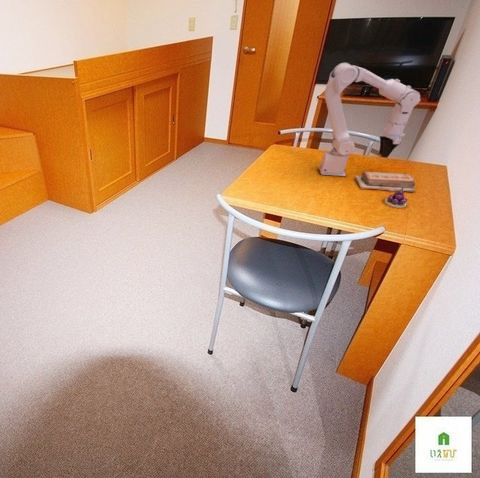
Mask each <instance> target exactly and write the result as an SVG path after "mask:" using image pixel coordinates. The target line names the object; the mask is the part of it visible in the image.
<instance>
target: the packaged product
mask: <svg viewBox="0 0 480 478" xmlns="http://www.w3.org/2000/svg"><path fill="white" fill-rule="evenodd" d="M355 180H356V182H357V184H358V185H359V187H360V189H361V190H362V189H363V190H365V189H366V190H369V189H370V190H381V191H389V192H397V191H399V190H401V189H402V187H404V188H403V191H404V192H408V193H414V192H416V191H417V190H416V189H415V186H416V179H415V178H414V177H413V175H412V174H410V173H399V172H397V173H396V172H383V171H381V172H380V171H363V172H362V174H361V175H358V174H357V175H355Z"/></svg>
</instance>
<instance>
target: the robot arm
mask: <svg viewBox="0 0 480 478" xmlns="http://www.w3.org/2000/svg"><path fill="white" fill-rule="evenodd" d="M328 77H329V78H328V81H327V83H326V86H325V89H324V93H323V95H324V99H325V104H326V108H327V112H328V115H329V122H330V125H331V129H332V141H331V146H332V148H331V150H330V151H325V152H324V153H323V154H322V157H321V160H320V164H319V167H318V169H319V173H320V175H322V176H335V177H346V176H347V174H346V172H345V169H346V167H347V164H348V161H349V158H350V156H351V154H352V153H353V152H354V150H355V149H356V144H355V143H354V142H353V141H352V140H351V136H350V134H349V131H348V126H347V121H346V118H345V113H344V108H343V103H342V99H341V94H342V92H343V91H344V90H345V88H347V87H348V86H350V85H351V84H352V83H353V82H355V83H359V82H364V83H366V84H369V85H371V86H372V87H374V88H377V89H378V93H379V95H381V96H383V97H384V98H386V99H389V100H391V101H392V102H395V104H394V107H393V109H392V112H391V114H390V116H389V120H388V121H387V124H386V127H384V128H383V131H382V135H381V136H379V140H380V141H379V142H380V143H379V144H380V145H379V150H378V151H379V152H378V154H379V155H380V157H381V158H388V157H389V156H390V155H391V154H392V152H393V151H394V150H395V149H396V148H397V147H399V145H401V143H402V137H405V136H406V134H405V133H404V130H405V127H406V125H407V123H408V121H409V119H410V116H411V114H412V112H413V109H414V108H415V107H416V106H417V105H418V104H419V103H420V102H421V100H422V99H421V94H420V92H419V91H417V90H415V89H413V88H412V86H411V85H405V84H403V83H401V80H400V79H398V78H395V79H394V78H391V79H384V78H382V77H380V76H378V75H376V74H375V73H373V72H371V71H370V70H368V69H366V68H363V67H360V66H358V65H355V64H354V65H353V64H350V63H349V62H341V63H338V64H337V65H336V66H335V67H334V68H333V70H332V71H331V72H330V74H329V76H328Z"/></svg>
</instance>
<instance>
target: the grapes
mask: <svg viewBox="0 0 480 478" xmlns="http://www.w3.org/2000/svg"><path fill="white" fill-rule="evenodd" d="M403 188H404V187H402V189H401V190H399V191H394V193H393V194H390V195H389V196H388V197H387V198H385V200H384V204H385V205H386V206H389V207H392V208H395V209H402V208H406V207H407V205H408V204H407V202H408V198H407V197H406V196H405V191H403Z"/></svg>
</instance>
